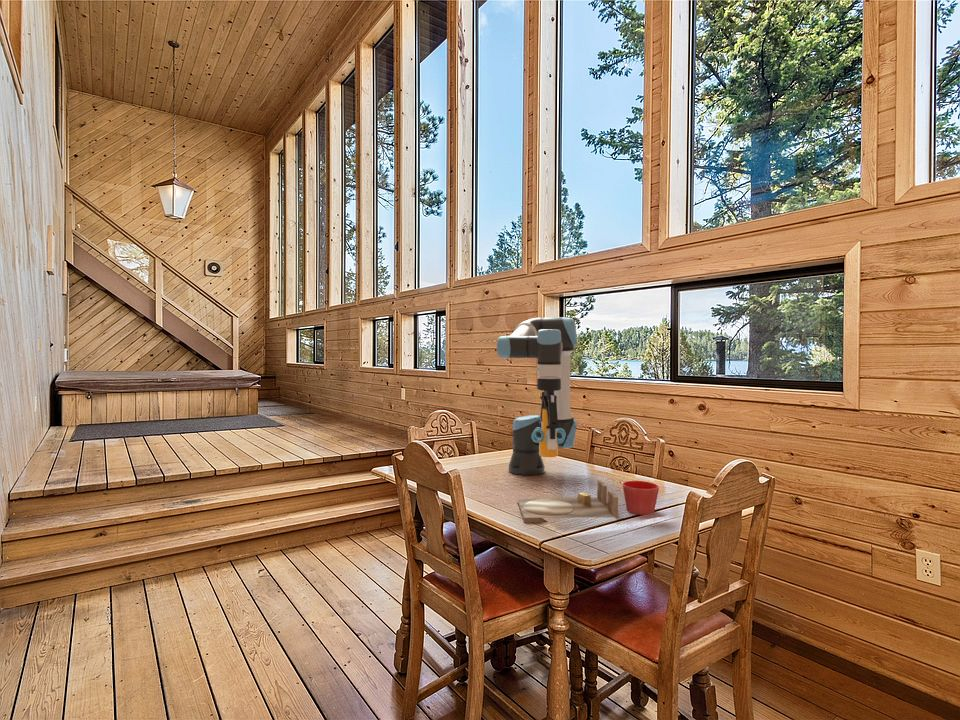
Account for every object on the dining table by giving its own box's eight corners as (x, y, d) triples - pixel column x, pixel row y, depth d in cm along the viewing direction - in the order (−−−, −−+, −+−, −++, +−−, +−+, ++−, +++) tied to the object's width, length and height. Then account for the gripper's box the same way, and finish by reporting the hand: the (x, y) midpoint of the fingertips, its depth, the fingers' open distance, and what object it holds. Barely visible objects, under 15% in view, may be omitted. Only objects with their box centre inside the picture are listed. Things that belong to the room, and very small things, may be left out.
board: (517, 502, 180) (517, 480, 179) (601, 501, 180) (602, 480, 180) (524, 522, 160) (524, 498, 159) (619, 521, 161) (619, 497, 160)
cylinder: (564, 460, 162) (564, 411, 162) (530, 459, 164) (530, 410, 164) (566, 452, 174) (566, 407, 174) (534, 451, 176) (534, 406, 176)
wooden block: (577, 501, 176) (577, 492, 175) (584, 500, 177) (584, 492, 176) (584, 505, 172) (584, 496, 172) (590, 504, 173) (590, 495, 173)
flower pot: (633, 507, 174) (633, 478, 174) (664, 515, 166) (665, 484, 166) (615, 514, 167) (616, 484, 167) (647, 523, 159) (647, 491, 159)
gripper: (532, 375, 180) (532, 438, 181) (543, 380, 156) (542, 453, 157) (554, 375, 181) (553, 438, 181) (568, 380, 157) (567, 453, 157)
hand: (548, 445), depth 169 cm, fingers closed on cylinder, 12 cm apart
